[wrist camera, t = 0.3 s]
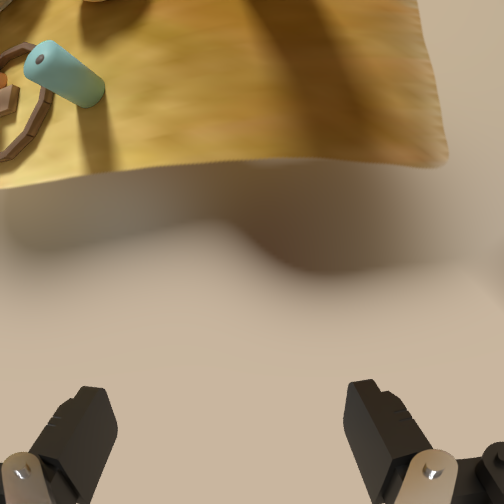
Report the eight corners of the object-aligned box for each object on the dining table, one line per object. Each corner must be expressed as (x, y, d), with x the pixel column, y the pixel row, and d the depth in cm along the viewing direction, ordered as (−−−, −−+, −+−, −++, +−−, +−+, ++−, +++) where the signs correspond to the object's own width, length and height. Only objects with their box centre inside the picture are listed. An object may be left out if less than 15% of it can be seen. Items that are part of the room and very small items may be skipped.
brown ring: (-15, 67, 33) (-22, 64, 31) (65, 34, 33) (59, 28, 31) (-32, 170, 35) (-40, 169, 33) (46, 152, 35) (38, 150, 33)
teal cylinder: (77, 80, 34) (28, 47, 22) (106, 73, 34) (61, 35, 22) (73, 110, 34) (19, 84, 22) (102, 105, 34) (52, 73, 22)
